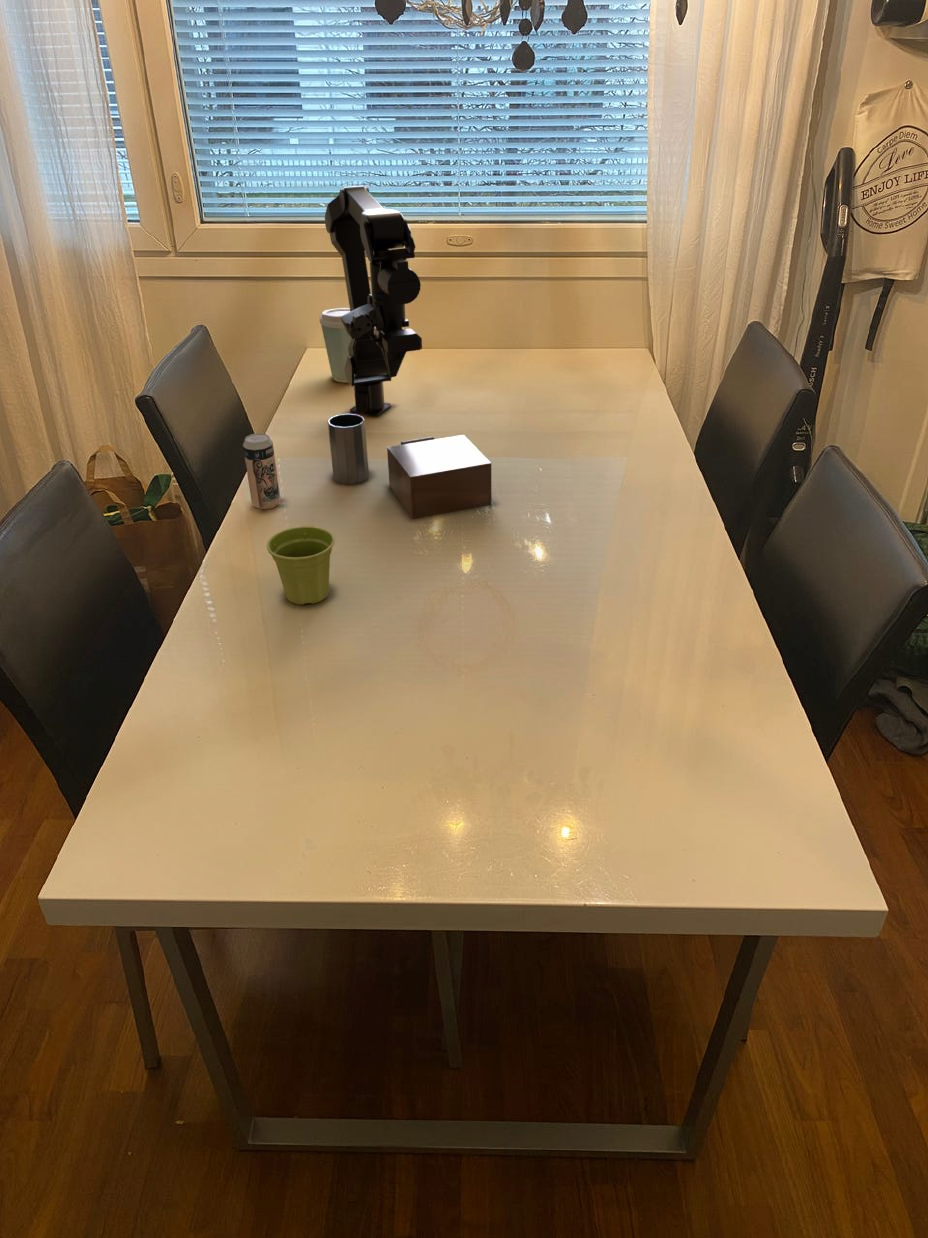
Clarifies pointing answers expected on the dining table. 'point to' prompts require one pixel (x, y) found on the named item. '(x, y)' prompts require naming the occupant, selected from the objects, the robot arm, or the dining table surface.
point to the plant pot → (303, 562)
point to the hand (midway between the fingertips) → (392, 376)
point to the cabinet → (439, 476)
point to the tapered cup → (348, 448)
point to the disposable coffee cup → (336, 341)
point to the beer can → (261, 471)
